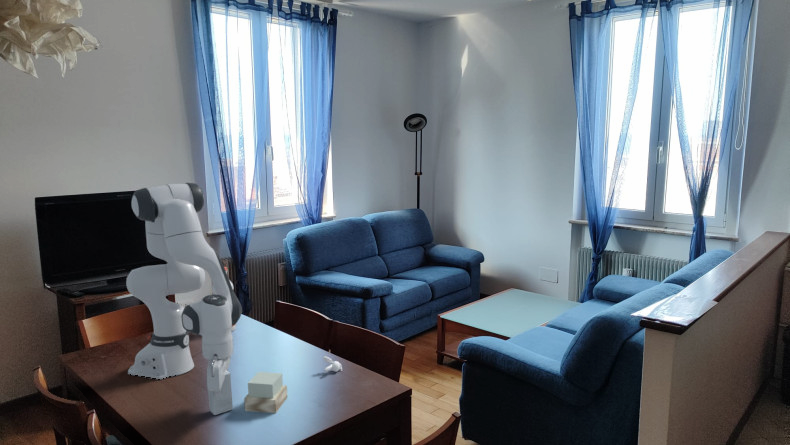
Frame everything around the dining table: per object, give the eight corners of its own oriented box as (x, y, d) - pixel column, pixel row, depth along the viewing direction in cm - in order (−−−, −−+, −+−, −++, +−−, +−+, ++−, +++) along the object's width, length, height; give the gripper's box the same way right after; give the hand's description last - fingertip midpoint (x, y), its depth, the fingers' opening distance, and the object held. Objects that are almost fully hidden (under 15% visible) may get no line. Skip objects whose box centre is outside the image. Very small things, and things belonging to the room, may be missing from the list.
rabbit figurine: (345, 373, 192) (326, 368, 188) (339, 379, 194) (320, 374, 190) (343, 359, 197) (325, 353, 193) (337, 365, 198) (319, 359, 194)
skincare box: (228, 405, 170) (225, 368, 168) (233, 410, 166) (231, 372, 165) (208, 411, 166) (205, 373, 164) (213, 416, 162) (211, 378, 161)
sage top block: (248, 396, 166) (247, 382, 166) (259, 385, 174) (258, 371, 174) (273, 398, 165) (272, 384, 164) (282, 386, 173) (282, 373, 172)
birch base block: (245, 411, 166) (244, 398, 165) (257, 396, 176) (257, 383, 175) (276, 414, 165) (275, 400, 164) (287, 398, 174) (286, 385, 174)
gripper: (223, 362, 153) (225, 407, 156) (233, 336, 173) (235, 376, 176) (200, 363, 153) (203, 409, 155) (212, 337, 173) (215, 378, 175)
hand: (220, 391), depth 165 cm, fingers closed on skincare box, 6 cm apart
